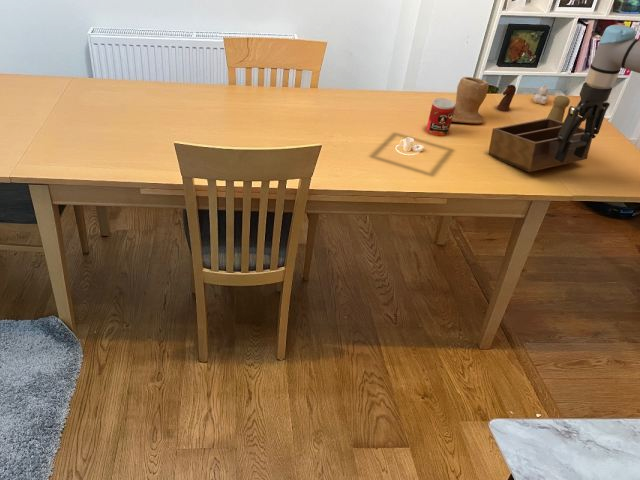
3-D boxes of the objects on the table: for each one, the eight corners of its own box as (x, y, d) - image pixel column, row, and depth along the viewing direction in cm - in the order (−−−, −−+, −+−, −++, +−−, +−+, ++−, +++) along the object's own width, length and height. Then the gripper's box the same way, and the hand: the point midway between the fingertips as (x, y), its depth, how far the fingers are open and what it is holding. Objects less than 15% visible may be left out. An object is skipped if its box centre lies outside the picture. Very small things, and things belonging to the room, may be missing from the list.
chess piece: (493, 108, 224) (502, 82, 217) (505, 107, 225) (514, 81, 218) (500, 113, 220) (508, 87, 214) (512, 112, 221) (521, 86, 215)
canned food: (426, 136, 204) (434, 106, 196) (424, 126, 210) (432, 96, 202) (449, 138, 203) (457, 108, 196) (446, 128, 209) (454, 98, 202)
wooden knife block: (600, 163, 184) (608, 135, 179) (542, 177, 176) (548, 147, 172) (542, 144, 202) (548, 118, 197) (488, 155, 194) (492, 128, 190)
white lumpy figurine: (541, 100, 231) (548, 80, 226) (549, 107, 226) (557, 87, 221) (528, 100, 230) (535, 80, 225) (536, 107, 225) (544, 87, 220)
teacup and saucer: (424, 150, 196) (427, 138, 193) (416, 159, 191) (419, 148, 188) (400, 142, 199) (402, 131, 197) (391, 152, 194) (393, 140, 191)
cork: (543, 128, 212) (554, 99, 205) (543, 121, 216) (553, 92, 209) (561, 131, 211) (573, 101, 203) (560, 124, 215) (571, 95, 208)
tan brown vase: (478, 114, 219) (490, 74, 209) (484, 128, 210) (496, 87, 200) (437, 111, 220) (447, 71, 210) (441, 124, 211) (452, 84, 201)
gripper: (612, 75, 171) (582, 147, 186) (561, 84, 165) (534, 158, 180) (634, 84, 166) (601, 158, 181) (582, 94, 160) (553, 169, 174)
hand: (568, 158), depth 180 cm, fingers closed on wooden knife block, 7 cm apart
